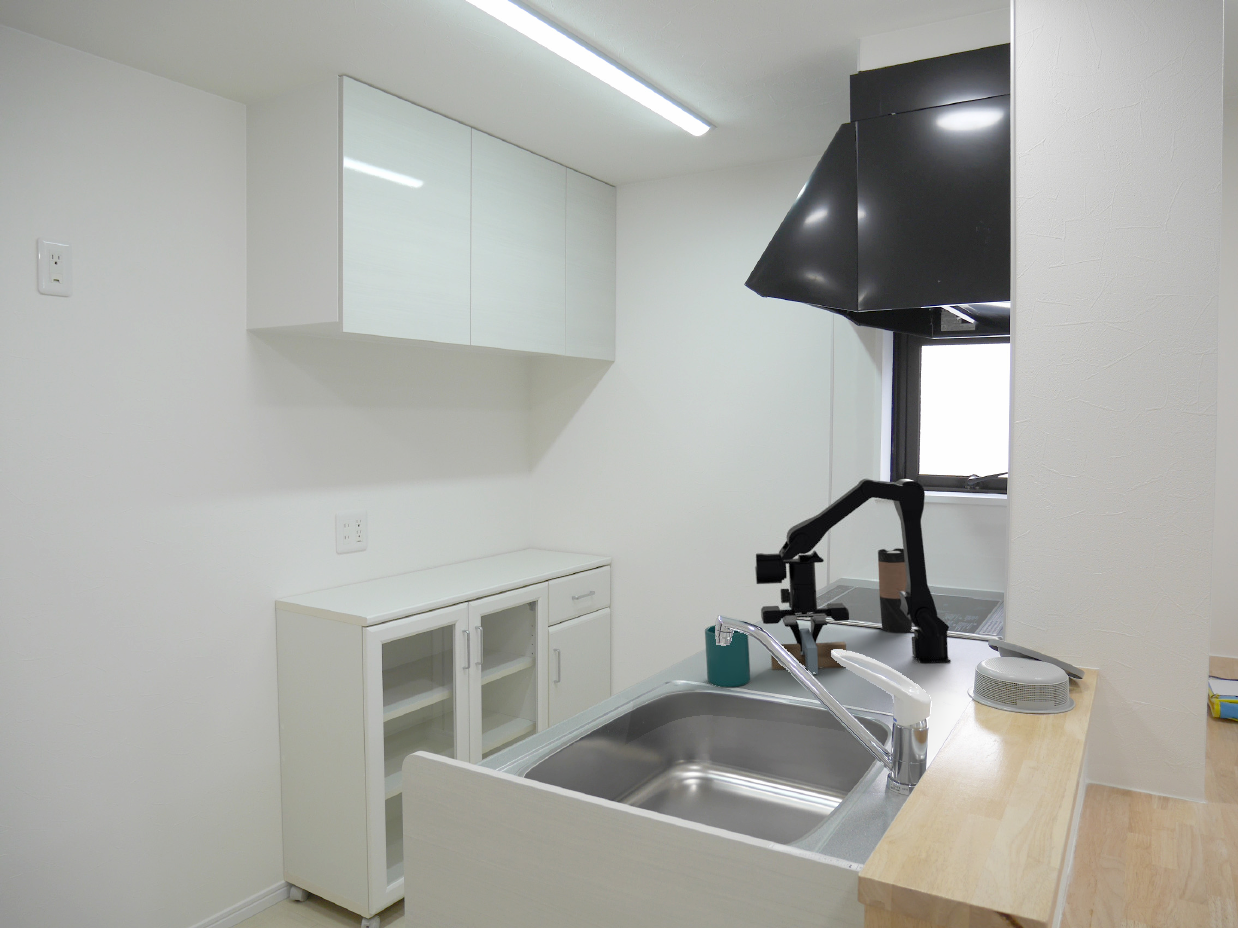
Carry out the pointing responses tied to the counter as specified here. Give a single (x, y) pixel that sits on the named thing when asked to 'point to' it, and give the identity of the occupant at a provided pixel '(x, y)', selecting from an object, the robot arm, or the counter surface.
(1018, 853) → the counter surface
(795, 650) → the walnut board
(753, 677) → the counter surface
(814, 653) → the slate block
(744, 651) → the cup
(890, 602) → the travel mug
